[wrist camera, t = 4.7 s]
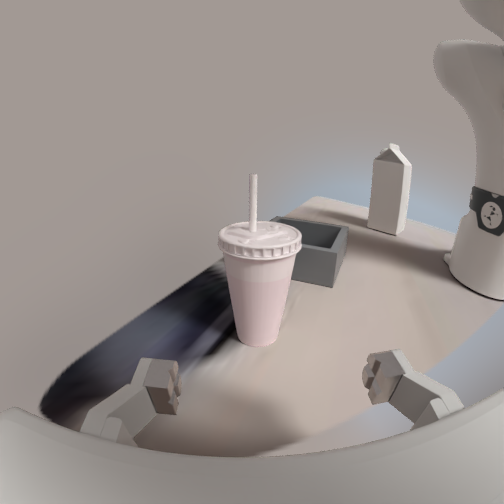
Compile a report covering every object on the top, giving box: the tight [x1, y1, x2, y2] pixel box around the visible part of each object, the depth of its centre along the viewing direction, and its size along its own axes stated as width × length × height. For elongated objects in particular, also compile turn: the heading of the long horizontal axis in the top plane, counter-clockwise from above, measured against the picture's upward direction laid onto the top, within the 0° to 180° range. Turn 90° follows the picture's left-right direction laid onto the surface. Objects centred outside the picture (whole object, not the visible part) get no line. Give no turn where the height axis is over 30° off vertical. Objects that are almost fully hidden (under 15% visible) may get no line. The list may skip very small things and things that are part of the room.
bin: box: [270, 216, 349, 288], centre depth 39 cm, size 12×12×4 cm
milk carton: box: [367, 143, 412, 235], centre depth 53 cm, size 7×7×19 cm
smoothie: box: [218, 174, 302, 347], centre depth 22 cm, size 6×6×14 cm
